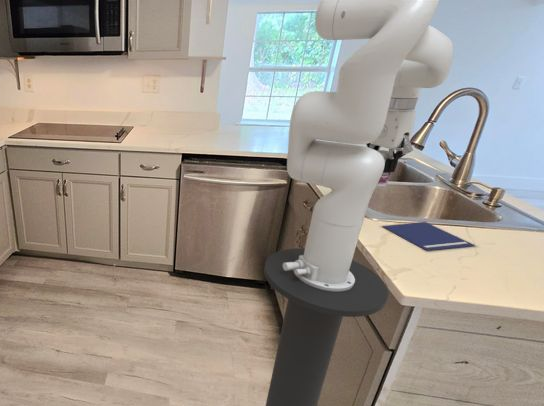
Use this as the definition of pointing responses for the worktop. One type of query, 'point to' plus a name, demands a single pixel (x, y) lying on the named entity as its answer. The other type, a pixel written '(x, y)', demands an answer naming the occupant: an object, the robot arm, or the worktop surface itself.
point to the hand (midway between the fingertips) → (379, 168)
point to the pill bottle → (384, 175)
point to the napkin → (427, 236)
